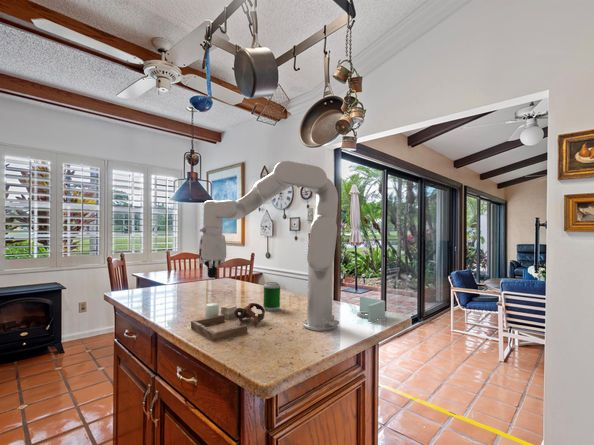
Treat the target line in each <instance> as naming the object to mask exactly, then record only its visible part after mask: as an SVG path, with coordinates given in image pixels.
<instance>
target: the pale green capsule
mask: <svg viewBox="0 0 594 445" xmlns="http://www.w3.org/2000/svg"><path fill="white" fill-rule="evenodd" d="M219 308H220V306H219V303H217V302H213V303H212V302H211V303H207V304H205V318H209V317H214V316H219V311H220V310H219Z"/></svg>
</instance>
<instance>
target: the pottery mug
mask: <svg viewBox="0 0 594 445" xmlns="http://www.w3.org/2000/svg"><path fill="white" fill-rule="evenodd" d="M254 307H255V309H257V310H261V313H258V314H257V315H256V312H255V311H253V308H254ZM251 308H252V310H251ZM265 313H266V310H265V308H264V307H263V306H262V305H261V304H259V303H257V302H256V303H255V302H250V303H249V304H248V305H246V306H245V307H243V308H242V307H237V309H236V310H235V311H234V314H235V317H234V318H236V319H238V321H240V322H243V319H251V318H252V319H253V321H252V322H251V323H252V325H254V326H257V324H258V323H260V322H261V321H263V320H264V319H265Z"/></svg>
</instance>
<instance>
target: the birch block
mask: <svg viewBox="0 0 594 445" xmlns="http://www.w3.org/2000/svg"><path fill="white" fill-rule="evenodd" d="M237 308H238V306H237V305H234V304H226V305H222V306H220V315H225V319H226V320H232V319H233V318H236V317H235V314H234V311H235V310H236V309H237Z"/></svg>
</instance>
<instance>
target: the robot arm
mask: <svg viewBox="0 0 594 445" xmlns="http://www.w3.org/2000/svg"><path fill="white" fill-rule="evenodd" d="M292 186H295V187H300V188H305V189H308V191H310V192H312V193H313V194H314V195H315V210H314V217H313V220H312V222H311V224H310V230H309V237H308V238H309V239H308V244H307V245H308V246H307V255H306V260H307V263H308V266H307V269H308V271H307V273H308V274H307V316H306V317H307V318H306V319H305V320H303V324H302V326H303V328H305V329H308V330H311V331H317V332H319V331H320V332H328V331H333V330H334V329H336V328H338V325H340V324H339V323H340V321H339V320H337V319H335V315H333V286H334V282H333V281H334V271H333V270H334V264H333V263H334V259H335V251H336V244H337V237H338V236H337V235H338V224H337V218H338V208H339V207H338V204H339V195H338V194H339V193H338V191H337V188H336V186H335V184H334V182H333V181H332V180H331V179H329V178H328V176H327V173H326V171H325V170H324V169H323V168H321V167H319V166H317V165H313V164H306V163H301V162H296V161H290V160H282V161H280V162H277V163H276V164H275V166H274V168H273V171H272V172H270V173H268V174H267V175H266V176H264V177H262V178H261V179H259V180H257V181H256V182H255V183H254V184H253V186H252V189H251V190H250V191H249V192H248V193H247V194H245V195H244V196H243V197H240V198H239V199H237V200H232V199H226V200H213V199H211V200H206V201H204V202H203V215H202V216H203V222H202V223H203V224H202V228H200V229H199V232H200V233H202V234H201V236H200V240H199V244H198V245H199V246H198V263H199V264H203V265H204V266H206V268H207V277H208V278H210V279H215V278H216V275H217V268H218V266H219V265H220V264H221V263H224V262H226V258H227V242H226V237H225V235H224V234H223V231H224V230H223V226H224V225H223V223H224V219H225V220H240V219H241V220H242V219H243V218H245V217H246V216H248V215H250V214H251V213H253V212H255V211H256V210H257V209H258V208H260V207H261V206H263V205H264V204H266V202H268V201H269V200H271V199H273V198H275V197H276V196H277V195H279V194H281V193H282V192H284V191H285V190H287V189H288V188H291V187H292Z"/></svg>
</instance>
